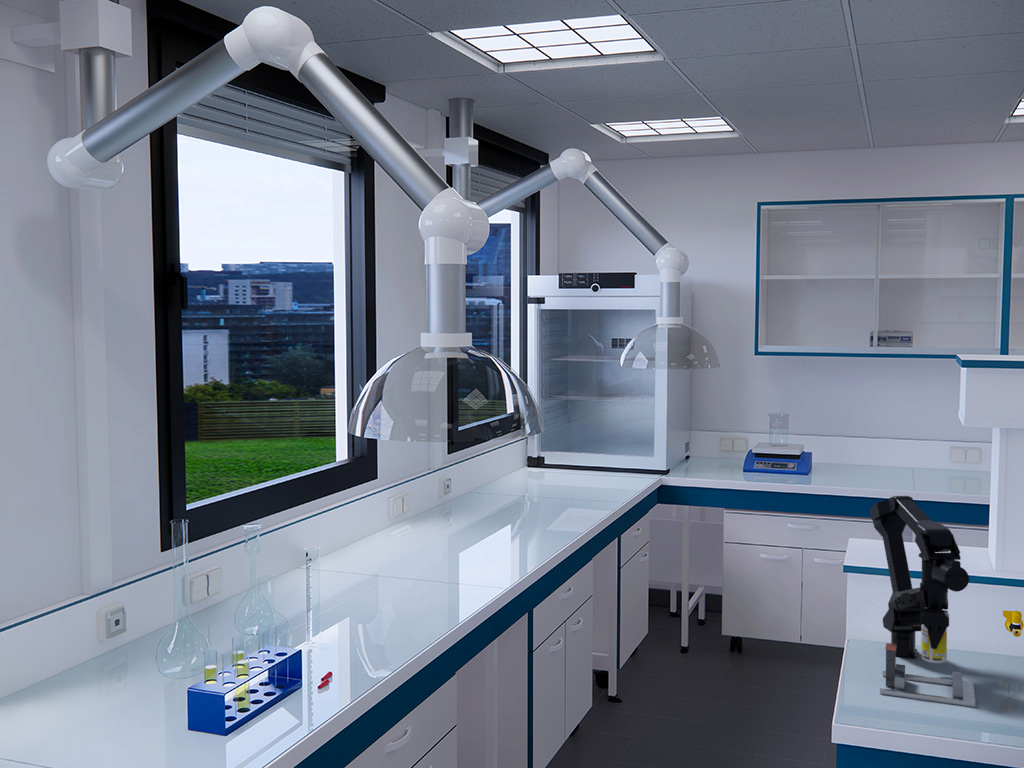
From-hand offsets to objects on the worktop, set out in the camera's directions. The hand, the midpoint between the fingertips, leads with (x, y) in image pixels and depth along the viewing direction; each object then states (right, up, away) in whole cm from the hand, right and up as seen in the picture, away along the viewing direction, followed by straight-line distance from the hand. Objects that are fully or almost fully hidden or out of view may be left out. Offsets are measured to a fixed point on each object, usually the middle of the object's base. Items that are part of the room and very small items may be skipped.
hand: (933, 645), depth 221 cm
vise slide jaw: (-12, -8, -6) cm, 15 cm away
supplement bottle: (0, -4, 0) cm, 4 cm away
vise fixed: (-6, -8, -9) cm, 13 cm away
